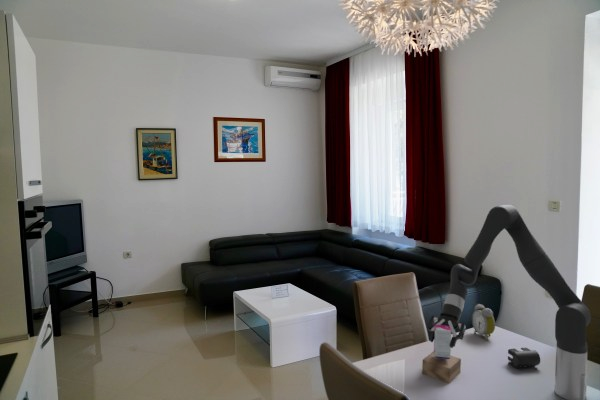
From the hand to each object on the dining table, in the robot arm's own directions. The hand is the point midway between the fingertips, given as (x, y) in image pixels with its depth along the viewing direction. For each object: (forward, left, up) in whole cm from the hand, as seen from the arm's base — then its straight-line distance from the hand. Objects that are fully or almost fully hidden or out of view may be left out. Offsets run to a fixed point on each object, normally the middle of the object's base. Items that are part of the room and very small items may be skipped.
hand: (440, 344), depth 161 cm
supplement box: (0, -2, -5) cm, 6 cm away
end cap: (-23, -29, -13) cm, 39 cm away
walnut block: (0, -1, -13) cm, 13 cm away
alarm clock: (-1, -50, -13) cm, 52 cm away
